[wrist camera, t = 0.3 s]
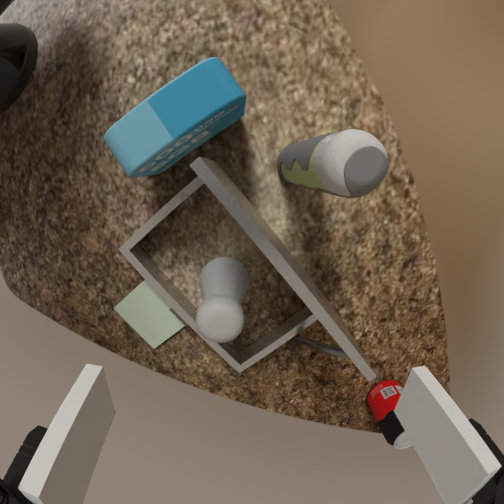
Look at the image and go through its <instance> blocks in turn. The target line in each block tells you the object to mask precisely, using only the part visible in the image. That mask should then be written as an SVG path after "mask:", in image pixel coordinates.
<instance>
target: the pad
mask: <svg viewBox="0 0 504 504" xmlns="http://www.w3.org/2000/svg"><path fill="white" fill-rule="evenodd" d="M170 308H171V307H170V306H169V304H168V303H167V302H166V301H165V300H164V299H163V298H162V297H161V296H160V295H159V294H158V293H157V292H156V291H155V290H154V289H153V288H152V286H151V285H150V284H149V283H148V282H147V281H146V280H144V281H143V282H142V283H140V284H139V285H138V286H137V287H136V288H135V289H134V290H133V291H132V292H130V293H129V294H128V295H127V296H126V297H125V298H124V299H123V300H122V301H121V302H120V303H118V304H117V305H116V306H115V307H114V309H115V310H116V311H117V312H118V313H119V314H120V315H121V317H122V318H123V319H124V320H125V321H126V322H127V323H128V324H129V325H130V326H131V327H132V328H133V329H134V330H135V331H136V332H137V333H138V334H139V335H140V336H141V337H142V338H143V339H144V340H145V341H146V342H147V343H148V344H149V345H151V346H152V347H153V348H154V349H155V348H156V347H157V346H159V345H160V344H161V343H163V342H164V341H165V340H167V339H168V338H169V337H171V336H172V335H173V334H175V333H176V332H177V331H179V330H180V329H181V328H183V327H184V326H185V325H184V324H183V323H182V322H181V321H180V320H179V319H178V318H177V317H176V316H175V315H174V314H173V313H172V312H171V311H170Z"/></svg>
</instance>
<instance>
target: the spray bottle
mask: <svg viewBox="0 0 504 504" xmlns="http://www.w3.org/2000/svg"><path fill="white" fill-rule="evenodd" d="M277 167H278V171H279V173H280V175H281V177H282V178H283V179H284V180H285V181H286V182H288V183H290V184H293V185H297V186H301V187H305V188H309V189H313V190H317V191H321V192H325V193H328V194H332V195H336V196H341V197H346V198H356V197H361V196H364V195H366V194H368V193H370V192H371V191H373V190H374V189H375V188H376V187H377V186H378V185H379V184H380V183H381V182H382V180H383V179H384V177H385V175H386V173H387V171H388V167H389V162H388V159H387V153H386V150H385V148H384V147H383V145H382V144H381V143H380V141H379V140H378V139H376V138H375V137H374V136H373V135H371V134H369V133H367V132H365V131H362V130H355V129H350V130H345V131H341V132H331V133H328V134H324V135H321V136H318V137H314V138H311V139H308V140H304V141H301V142H298V143H295V144H292V145H289V146H287V147H286V148H284V149H283V150H282V151H281V153H280V155H279V157H278V161H277Z"/></svg>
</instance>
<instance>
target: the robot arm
mask: <svg viewBox="0 0 504 504" xmlns="http://www.w3.org/2000/svg"><path fill="white" fill-rule="evenodd" d="M13 1H14V0H0V15H1V14H2V13H3V12H4V11H5V10H6V9H7V7H8V6H9V5H10V4H11V3H12V2H13ZM36 55H37V40H36V36H35V34H34V33H33V31H32V30H30V29H29V28H27V27H25V26H23V25H21V24H0V113H1V112H3V111H4V110H6V109H7V108H8V107H9V106H10V105H11V104H12V103H13V102H14V101H15V100H16V99H17V97H18V96H19V95H20V93H21V92H22V90H23V89H24V87H25V85H26V83H27V81H28V79H29V77H30V75H31V73H32V70H33V67H34V64H35V60H36ZM394 412H395V414H396V416H397V418H398V419H399V421H400V423H401V425H402V426H403V428H404V430H405V432H406V434H407V435H408V437H409V439H410V441H411V442H412V444H413V446H414V448H415V450H416V451H417V453H418V455H419V457H420V459H421V460H422V462H423V464H424V466H425V468H426V470H427V471H428V473H429V475H430V477H431V479H432V481H433V483H434V485H435V487H436V488H437V490H438V492H439V494H440V496H441V498H442V500H443V502H444V504H466V503H467V502H468V501H469V500H470V499H471V498H472V500H473V503H472V504H504V455H503V454H502V452H501V451H500V450H499V448H498V447H497V446H496V444H495V443H494V442H493V441H491V438H490V436H489V435H488V434H486V433H487V432H486V431H485V430H484V429H483V427H482V426H481V425H480V424H479V423H477V422H476V421H475V420H473V419H469V420H468V419H467V418H466V417H465V415H464V414H463V413H462V411H461V410H460V409H459V408H458V406H457V405H456V404H455V403H454V401H453V400H452V399H451V397H450V396H449V395H448V394H447V392H446V391H445V390H444V389H443V387H442V386H441V385H440V384H439V382H438V381H437V380H436V379H435V377H434V376H433V375H432V374H431V373H430V371H429V370H428V369H427V368H426V367H425V366H421V367H415V368H412V369H411V372H410V374H409V377H408V379H407V382H406V384H405V387H404V389H403V391H402V394H401V396H400V398H399V401H398V403H397V405H396V407H395V409H394ZM114 415H115V409H114V406H113V402H112V399H111V395H110V392H109V388H108V385H107V381H106V377H105V373H104V369H103V366H97V365H92V364H86V366H85V367H84V369H83V371H82V372H81V374H80V375H79V377H78V378H77V380H76V382H75V383H74V385H73V387H72V388H71V390H70V392H69V393H68V395H67V397H66V399H65V400H64V402H63V404H62V405H61V407H60V409H59V411H58V412H57V414H56V416H55V417H54V419H53V421H52V423H51V425H50V426H49V428H48V429H47V428H44V427H41V426H37V427H36V428H35V429H33V430H32V431H31V432H30V433H29V434H28V435H27V437H26V439H25V440H24V442H23V445H22V446H21V447H20V449H19V453H17V454H16V456H15V458H14V460H13V462H12V464H11V466H10V468H9V469H8V471H7V473H6V475H5V477H4V479H3V480H1V479H0V504H83V501H84V498H85V495H86V492H87V489H88V486H89V483H90V480H91V477H92V474H93V471H94V469H95V466H96V463H97V460H98V457H99V455H100V452H101V449H102V446H103V444H104V441H105V438H106V436H107V433H108V431H109V428H110V425H111V423H112V420H113V418H114Z"/></svg>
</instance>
